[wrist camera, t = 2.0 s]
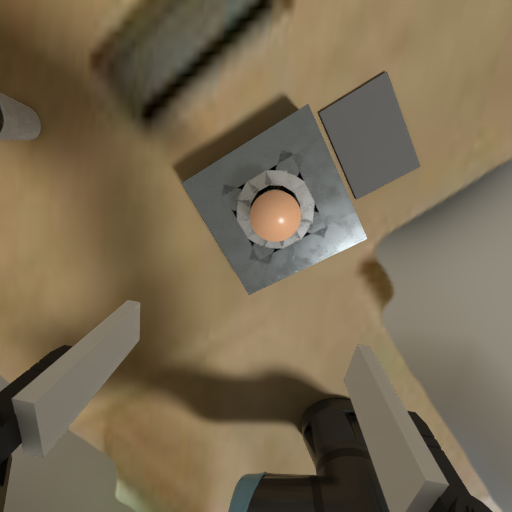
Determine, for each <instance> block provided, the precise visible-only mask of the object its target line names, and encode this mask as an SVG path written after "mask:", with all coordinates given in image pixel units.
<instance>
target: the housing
mask: <svg viewBox="0 0 512 512" xmlns="http://www.w3.org/2000/svg"><path fill="white" fill-rule="evenodd" d="M275 167H276V170H272V169H274V168H275ZM297 176H298V177H299V178H298V177H297ZM182 185H183V187H184V188H185V190H186V192H187V193H188V195H189V197H190V198H191V200H192V202H193V203H194V205H195V207H196V208H197V210H198V211H199V213H200V215H201V216H202V218H203V220H204V221H205V223H206V225H207V226H208V228H209V230H210V231H211V233H212V235H213V236H214V238H215V240H216V241H217V243H218V244H219V246H220V248H221V249H222V251H223V253H224V254H225V256H226V258H227V259H228V261H229V263H230V264H231V266H232V268H233V269H234V271H235V273H236V274H237V276H238V277H239V279H240V281H241V282H242V284H243V286H244V287H245V289H246V291H247V292H248V294H249V295H250V294H252V293H254V292H256V291H259V290H261V289H263V288H265V287H267V286H269V285H271V284H273V283H275V282H277V281H280V280H282V279H284V278H286V277H288V276H290V275H292V274H294V273H296V272H298V271H301V270H303V269H305V268H307V267H309V266H311V265H313V264H315V263H317V262H320V261H322V260H324V259H326V258H328V257H330V256H332V255H334V254H336V253H338V252H341V251H343V250H345V249H347V248H349V247H351V246H353V245H355V244H357V243H360V242H362V241H364V240H366V239H367V237H366V235H365V233H364V230H363V228H362V226H361V223H360V221H359V219H358V217H357V214H356V212H355V210H354V207H353V205H352V203H351V201H350V198H349V196H348V194H347V192H346V189H345V187H344V185H343V182H342V180H341V178H340V176H339V173H338V171H337V169H336V166H335V164H334V162H333V160H332V157H331V155H330V153H329V150H328V148H327V146H326V144H325V141H324V139H323V137H322V134H321V132H320V130H319V128H318V125H317V123H316V121H315V118H314V116H313V114H312V112H311V109H310V107H309V105H308V104H307V105H305V106H304V107H302V108H301V109H299V110H297V111H296V112H294V113H293V114H291V115H289V116H288V117H286V118H285V119H283V120H281V121H280V122H278V123H277V124H275V125H273V126H272V127H270V128H269V129H267V130H265V131H264V132H262V133H261V134H259V135H258V136H256V137H254V138H253V139H251V140H250V141H248V142H246V143H245V144H243V145H242V146H240V147H238V148H237V149H235V150H234V151H232V152H230V153H229V154H227V155H226V156H224V157H222V158H221V159H219V160H218V161H216V162H214V163H213V164H211V165H210V166H208V167H206V168H205V169H203V170H202V171H200V172H198V173H197V174H195V175H194V176H192V177H190V178H189V179H187V180H186V181H184V182H182ZM269 185H279V186H284V187H285V188H287V189H288V190H290V191H292V193H293V195H294V197H295V199H296V201H297V203H298V205H299V207H300V210H301V221H300V225H299V227H298V229H297V230H296V232H295V233H294V234H293V235H292V236H291V237H289V238H288V239H286V240H283V241H279V242H271V241H267V240H265V239H263V238H261V237H260V236H258V235H257V234H256V232H255V231H254V230H253V228H252V226H251V222H250V211H251V207H252V205H253V201H254V199H255V197H256V196H257V194H258V192H259V191H260V190H262V189H264V188H265V187H267V186H269ZM243 186H244V188H242V187H243Z"/></svg>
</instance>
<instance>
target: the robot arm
mask: <svg viewBox="0 0 512 512" xmlns="http://www.w3.org/2000/svg"><path fill="white" fill-rule="evenodd" d="M139 340H140V302H135V301H130V300H127V301H126V302H125V303H124V304H122V305H121V306H120V307H119V308H118V309H117V310H115V311H114V312H113V313H112V314H111V315H110V316H108V317H107V318H106V319H105V320H104V321H102V322H101V323H100V324H99V325H98V326H97V327H95V328H94V329H93V330H92V331H91V332H90V333H88V334H87V335H86V336H85V337H84V338H82V339H81V340H80V341H79V342H78V343H77V344H75V345H74V346H73V347H72V346H67V345H64V346H62V347H60V348H58V349H56V350H54V351H52V352H50V353H49V354H47V355H46V356H45V357H44V358H42V359H41V360H40V361H39V363H36V364H35V365H33V366H32V367H31V368H30V370H27V371H26V372H25V373H23V374H22V375H21V376H20V377H18V378H17V379H16V380H14V381H13V382H12V383H11V384H9V385H8V386H7V387H6V388H4V389H3V390H2V391H1V392H0V512H3V509H4V504H5V498H6V491H7V486H8V480H9V474H10V468H11V462H12V456H11V453H12V452H13V451H14V450H15V449H16V448H17V447H18V446H19V445H20V444H22V449H23V453H24V454H28V455H33V456H38V457H45V456H46V454H47V453H48V452H49V451H50V449H51V448H52V447H53V446H54V444H55V443H56V442H57V441H58V440H59V438H60V437H61V436H62V435H63V433H64V432H65V431H66V430H67V429H68V427H69V426H70V425H71V424H72V422H73V421H74V420H75V419H76V418H77V416H78V415H79V414H80V413H81V411H82V410H83V409H84V408H85V406H86V405H87V404H88V403H89V402H90V400H91V399H92V398H93V397H94V395H95V394H96V393H97V392H98V391H99V389H100V388H101V387H102V386H103V384H104V383H105V382H106V381H107V380H108V378H109V377H110V376H111V375H112V373H113V372H114V371H115V370H116V368H117V367H118V366H119V365H120V364H121V362H122V361H123V360H124V359H125V357H126V356H127V355H128V354H129V353H130V351H131V350H132V349H133V348H134V346H135V345H136V344H137V343H138V342H139ZM344 382H345V385H346V387H347V390H348V393H349V396H350V399H351V400H347V399H339V398H335V399H327V400H323V401H320V402H318V403H316V404H314V405H313V406H311V407H310V408H309V409H308V410H307V411H306V412H305V414H304V416H303V418H302V422H301V427H302V435H303V439H304V442H305V445H306V447H307V449H308V451H309V454H310V456H311V458H312V461H313V463H314V465H315V468H316V474H317V475H293V474H271V473H266V472H263V473H259V474H246V475H244V476H242V477H241V478H240V480H239V481H238V483H237V485H236V487H235V490H234V493H233V496H232V499H231V503H230V507H229V512H492V511H491V510H490V509H489V508H488V507H487V506H486V505H485V504H484V503H482V502H481V501H480V500H478V499H476V498H475V497H473V496H471V495H470V493H469V492H468V490H467V489H466V487H465V485H464V484H463V482H462V481H461V479H460V477H459V476H458V474H457V473H456V471H455V469H454V468H453V466H452V465H451V463H450V461H449V460H448V458H447V456H446V455H445V453H444V452H443V450H441V447H440V445H439V444H438V442H437V440H436V439H434V435H433V434H432V432H431V431H430V429H429V427H428V426H427V424H426V423H425V422H424V421H423V420H422V419H421V418H420V417H419V416H418V415H417V414H416V413H415V412H410V411H407V410H406V408H405V407H404V405H403V403H402V401H401V400H400V398H399V396H398V394H397V393H396V391H395V389H394V387H393V386H392V384H391V382H390V380H389V379H388V377H387V375H386V373H385V372H384V370H383V368H382V366H381V365H380V363H379V361H378V359H377V358H376V356H375V354H374V352H373V351H372V349H371V347H369V346H364V345H359V344H357V347H356V349H355V352H354V355H353V357H352V360H351V362H350V365H349V368H348V370H347V373H346V375H345V378H344Z"/></svg>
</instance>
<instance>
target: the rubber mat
mask: <svg viewBox="0 0 512 512" xmlns="http://www.w3.org/2000/svg"><path fill="white" fill-rule="evenodd" d="M319 115H320V118H321V120H322V122H323V125H324V127H325V129H326V131H327V134H328V136H329V138H330V141H331V143H332V145H333V148H334V150H335V152H336V155H337V157H338V159H339V162H340V164H341V166H342V168H343V171H344V173H345V175H346V178H347V180H348V182H349V185H350V187H351V189H352V192H353V194H354V196H355V199H358V198H360V197H362V196H364V195H366V194H368V193H370V192H372V191H374V190H376V189H378V188H380V187H382V186H384V185H385V184H387V183H389V182H391V181H393V180H395V179H397V178H399V177H401V176H403V175H405V174H407V173H409V172H411V171H413V170H415V169H417V168H418V167H420V164H419V161H418V158H417V156H416V153H415V150H414V147H413V144H412V141H411V139H410V136H409V133H408V130H407V127H406V124H405V121H404V119H403V116H402V113H401V110H400V107H399V104H398V102H397V99H396V96H395V93H394V90H393V87H392V84H391V82H390V79H389V76H388V73H387V72H385V73H383V74H382V75H380V76H379V77H377V78H375V79H374V80H372V81H370V82H369V83H367V84H365V85H364V86H362V87H361V88H359V89H357V90H356V91H354V92H352V93H351V94H349V95H347V96H346V97H344V98H343V99H341V100H339V101H338V102H336V103H334V104H333V105H331V106H329V107H328V108H326V109H325V110H323V111H321V112H320V113H319Z"/></svg>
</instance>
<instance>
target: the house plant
mask: <svg viewBox="0 0 512 512" xmlns="http://www.w3.org/2000/svg"><path fill="white" fill-rule="evenodd" d="M40 131H41V123H40V120H39V117H38V116H37V114H36V113H35V111H34V110H33V109H31V108H30V107H29V106H26V105H24V104H22V103H20V102H18V101H16V100H14V99H12V98H10V97H8V96H6V95H4V94H2V93H0V140H34V139H36V138H37V137H38V136H39V134H40Z"/></svg>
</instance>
